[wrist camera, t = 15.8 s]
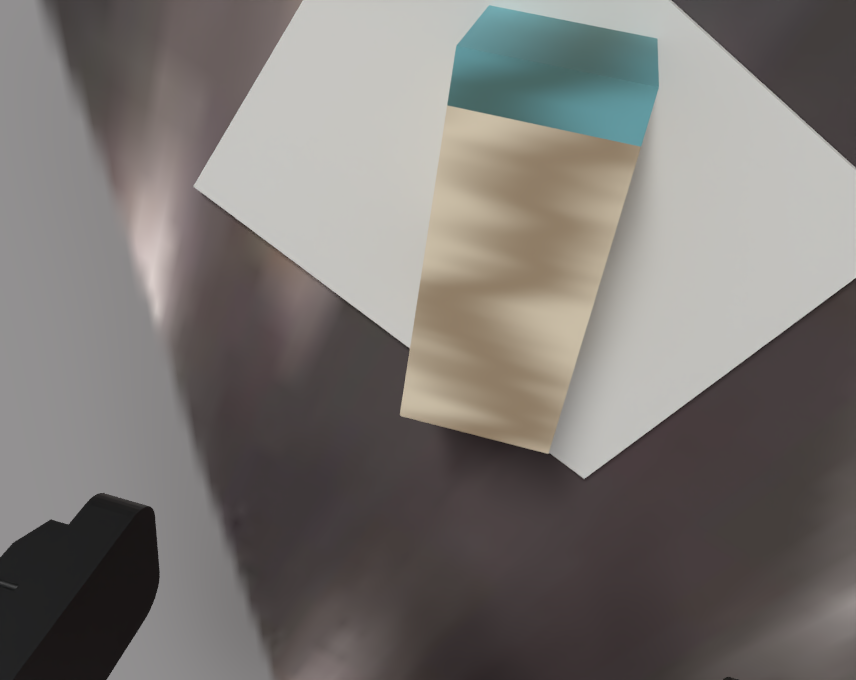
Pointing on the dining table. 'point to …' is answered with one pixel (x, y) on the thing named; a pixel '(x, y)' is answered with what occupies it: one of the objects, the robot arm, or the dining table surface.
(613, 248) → the grey mat
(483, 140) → the beige tall box
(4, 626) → the robot arm
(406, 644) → the dining table surface
